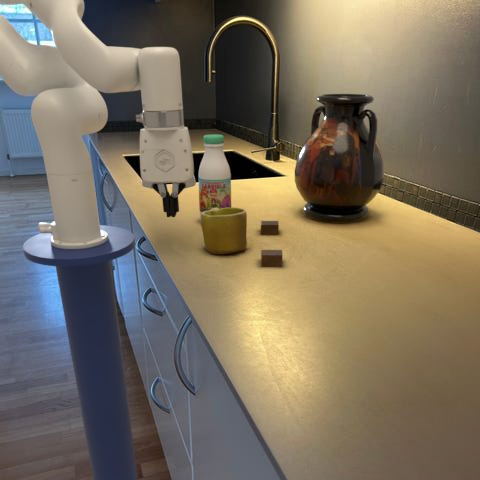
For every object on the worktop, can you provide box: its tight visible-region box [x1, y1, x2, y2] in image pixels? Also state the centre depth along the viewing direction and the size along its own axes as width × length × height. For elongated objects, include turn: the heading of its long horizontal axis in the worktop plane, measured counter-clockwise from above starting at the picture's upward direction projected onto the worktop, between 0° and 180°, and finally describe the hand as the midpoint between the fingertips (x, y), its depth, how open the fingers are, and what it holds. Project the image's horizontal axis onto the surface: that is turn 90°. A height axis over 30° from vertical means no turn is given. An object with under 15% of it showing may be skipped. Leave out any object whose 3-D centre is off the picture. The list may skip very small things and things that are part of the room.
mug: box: [200, 206, 248, 255], centre depth 106 cm, size 12×10×10 cm
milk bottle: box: [198, 134, 232, 222], centre depth 121 cm, size 8×8×20 cm
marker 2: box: [260, 249, 283, 268], centre depth 98 cm, size 4×3×2 cm
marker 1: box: [260, 220, 280, 236], centre depth 116 cm, size 4×3×2 cm
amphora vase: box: [294, 93, 385, 224], centre depth 123 cm, size 22×22×28 cm
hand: (171, 215), depth 105 cm, fingers closed
